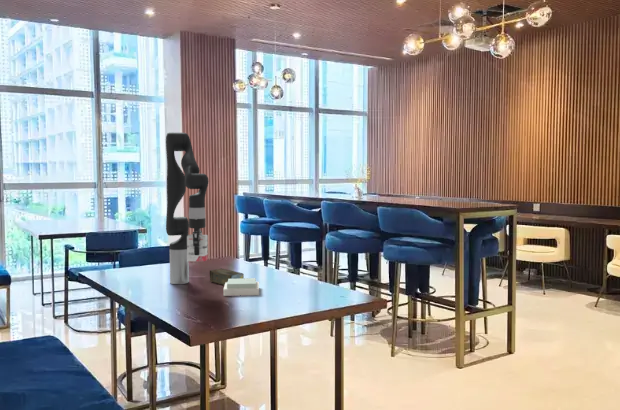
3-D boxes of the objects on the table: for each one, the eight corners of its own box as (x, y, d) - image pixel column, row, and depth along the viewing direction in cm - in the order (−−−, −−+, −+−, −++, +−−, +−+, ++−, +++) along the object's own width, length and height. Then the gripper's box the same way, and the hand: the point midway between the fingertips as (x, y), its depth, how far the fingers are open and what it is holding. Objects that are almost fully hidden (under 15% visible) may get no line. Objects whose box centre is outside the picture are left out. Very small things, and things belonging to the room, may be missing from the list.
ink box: (208, 259, 259) (208, 234, 258) (205, 261, 254) (205, 235, 253) (190, 259, 260) (189, 233, 259) (186, 261, 255) (186, 235, 254)
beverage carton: (231, 287, 272) (231, 274, 271) (208, 282, 285) (208, 269, 285) (244, 285, 277) (244, 271, 277) (221, 280, 291) (221, 267, 290)
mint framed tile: (225, 288, 268) (225, 278, 267) (259, 287, 269) (259, 277, 269) (223, 295, 252) (223, 284, 252) (259, 295, 253) (259, 284, 253)
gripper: (190, 216, 262) (191, 251, 264) (186, 218, 248) (187, 256, 249) (206, 215, 263) (207, 251, 264) (203, 218, 249) (204, 256, 250)
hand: (197, 253), depth 257 cm, fingers closed on ink box, 5 cm apart
